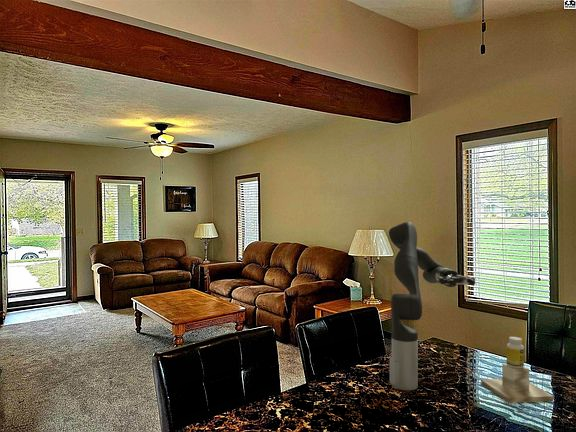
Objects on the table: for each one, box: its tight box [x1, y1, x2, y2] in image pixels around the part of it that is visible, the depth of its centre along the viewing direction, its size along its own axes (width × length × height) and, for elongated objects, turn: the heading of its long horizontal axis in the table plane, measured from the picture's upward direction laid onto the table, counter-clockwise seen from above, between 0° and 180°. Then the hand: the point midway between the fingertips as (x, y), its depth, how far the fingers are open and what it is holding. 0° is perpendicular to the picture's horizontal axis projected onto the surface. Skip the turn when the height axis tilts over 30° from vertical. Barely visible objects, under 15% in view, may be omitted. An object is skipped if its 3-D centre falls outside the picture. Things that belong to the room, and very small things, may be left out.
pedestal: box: [480, 362, 554, 404], centre depth 147 cm, size 16×16×9 cm
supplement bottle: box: [506, 336, 525, 368], centre depth 147 cm, size 5×5×10 cm
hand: (463, 282), depth 168 cm, fingers open, 8 cm apart
